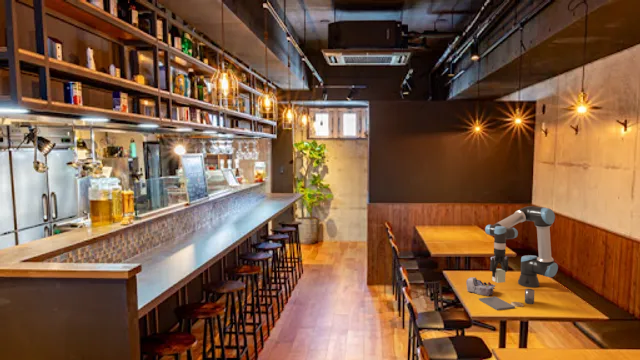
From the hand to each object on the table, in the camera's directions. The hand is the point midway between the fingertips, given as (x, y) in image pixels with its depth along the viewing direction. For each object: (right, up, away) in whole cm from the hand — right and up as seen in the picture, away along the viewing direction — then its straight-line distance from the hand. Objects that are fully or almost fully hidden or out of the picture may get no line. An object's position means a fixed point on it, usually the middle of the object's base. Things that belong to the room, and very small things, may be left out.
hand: (498, 280), depth 291 cm
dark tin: (+22, -16, +1) cm, 27 cm away
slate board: (-2, -16, -1) cm, 16 cm away
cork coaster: (+12, -17, -2) cm, 20 cm away
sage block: (0, 0, 0) cm, 0 cm away
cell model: (-4, -15, +22) cm, 27 cm away
